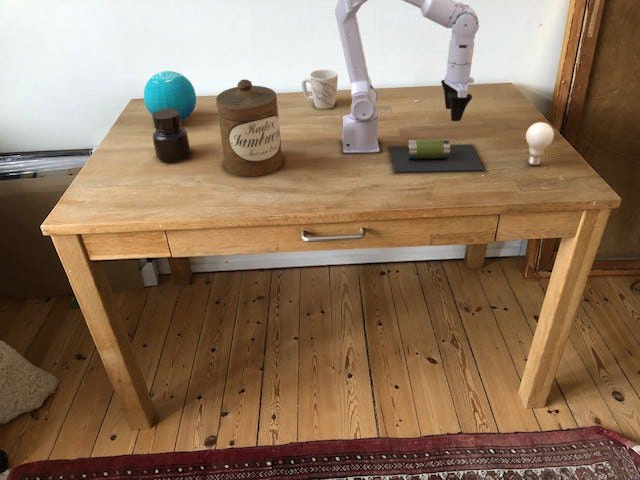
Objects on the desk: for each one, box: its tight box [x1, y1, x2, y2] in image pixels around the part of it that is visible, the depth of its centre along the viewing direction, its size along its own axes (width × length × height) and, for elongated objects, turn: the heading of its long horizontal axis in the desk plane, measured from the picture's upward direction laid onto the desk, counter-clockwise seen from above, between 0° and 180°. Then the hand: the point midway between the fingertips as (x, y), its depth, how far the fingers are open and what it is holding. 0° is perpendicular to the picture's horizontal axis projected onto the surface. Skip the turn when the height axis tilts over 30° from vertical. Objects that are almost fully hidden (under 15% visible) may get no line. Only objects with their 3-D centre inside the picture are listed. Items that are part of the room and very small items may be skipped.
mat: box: [389, 144, 485, 174], centre depth 141 cm, size 22×14×1 cm, turn 90°
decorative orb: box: [143, 70, 197, 123], centre depth 161 cm, size 15×15×15 cm
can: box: [406, 138, 451, 159], centre depth 140 cm, size 5×5×10 cm
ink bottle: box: [151, 109, 192, 164], centre depth 143 cm, size 10×9×12 cm
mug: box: [301, 69, 339, 110], centre depth 170 cm, size 11×8×10 cm
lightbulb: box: [525, 121, 555, 166], centre depth 134 cm, size 6×6×11 cm
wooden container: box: [215, 79, 283, 177], centre depth 136 cm, size 15×15×22 cm
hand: (452, 114), depth 139 cm, fingers open, 7 cm apart
